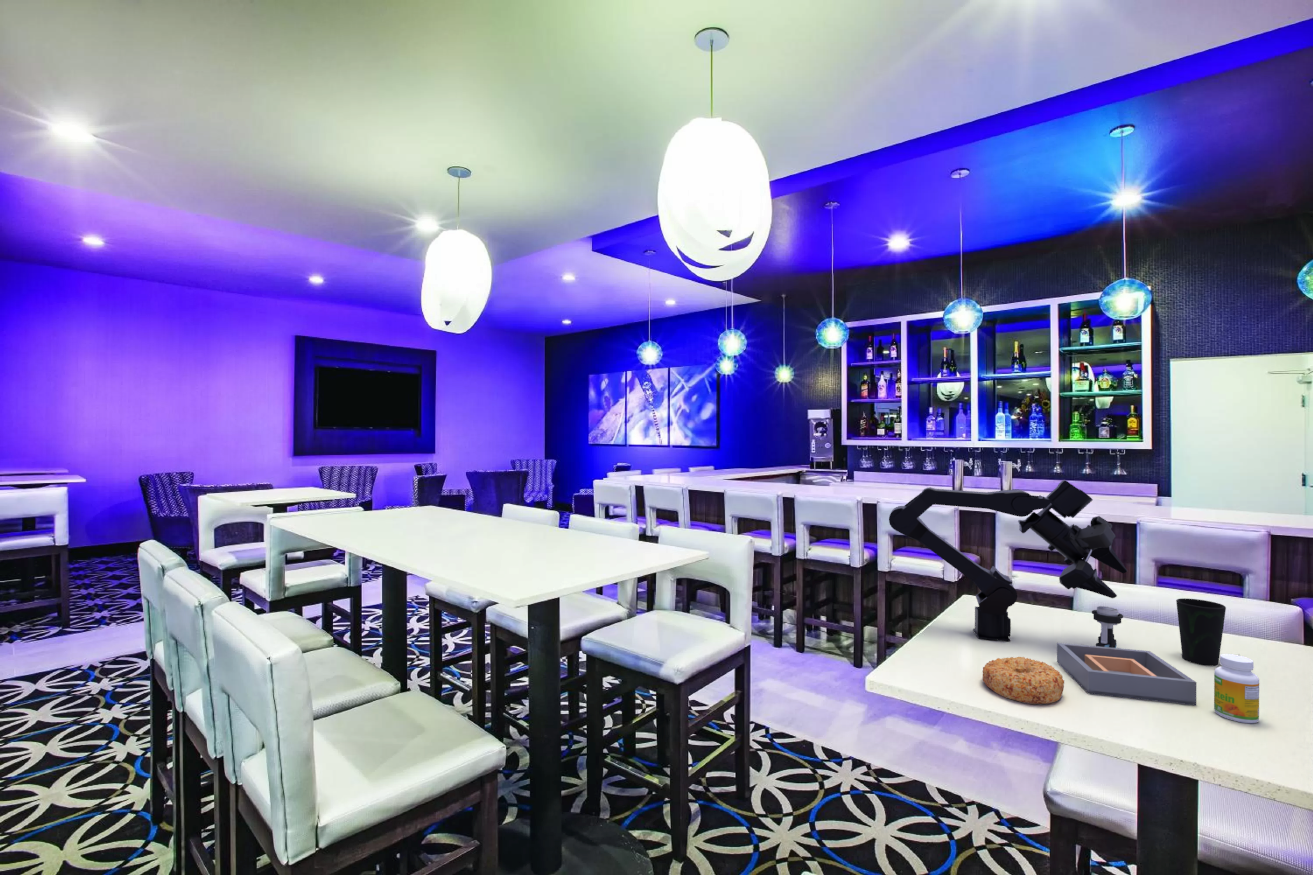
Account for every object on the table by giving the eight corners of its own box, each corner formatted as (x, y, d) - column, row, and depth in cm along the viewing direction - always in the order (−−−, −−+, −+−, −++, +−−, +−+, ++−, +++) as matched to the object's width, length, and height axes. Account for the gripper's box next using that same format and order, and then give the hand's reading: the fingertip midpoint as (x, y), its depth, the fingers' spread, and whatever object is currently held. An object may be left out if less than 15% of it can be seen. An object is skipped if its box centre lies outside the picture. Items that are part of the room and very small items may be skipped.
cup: (1213, 657, 127) (1213, 600, 127) (1234, 669, 120) (1234, 609, 120) (1168, 652, 130) (1169, 596, 130) (1186, 664, 123) (1186, 606, 123)
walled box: (1088, 693, 108) (1088, 671, 108) (1056, 662, 124) (1057, 642, 124) (1196, 705, 104) (1196, 682, 104) (1149, 671, 119) (1149, 650, 119)
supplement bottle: (1204, 709, 102) (1205, 652, 102) (1233, 708, 103) (1234, 651, 103) (1238, 724, 97) (1238, 664, 97) (1268, 723, 97) (1269, 663, 97)
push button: (1100, 648, 132) (1100, 603, 132) (1129, 656, 128) (1130, 608, 128) (1087, 654, 128) (1087, 607, 128) (1116, 662, 124) (1117, 613, 124)
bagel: (1057, 683, 113) (1057, 657, 113) (1073, 713, 101) (1073, 683, 101) (979, 672, 118) (979, 647, 118) (985, 699, 106) (985, 671, 106)
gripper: (1072, 538, 123) (1143, 594, 118) (1096, 492, 134) (1162, 543, 129) (1032, 562, 132) (1097, 616, 127) (1058, 518, 142) (1119, 566, 138)
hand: (1120, 584), depth 130 cm, fingers open, 9 cm apart
